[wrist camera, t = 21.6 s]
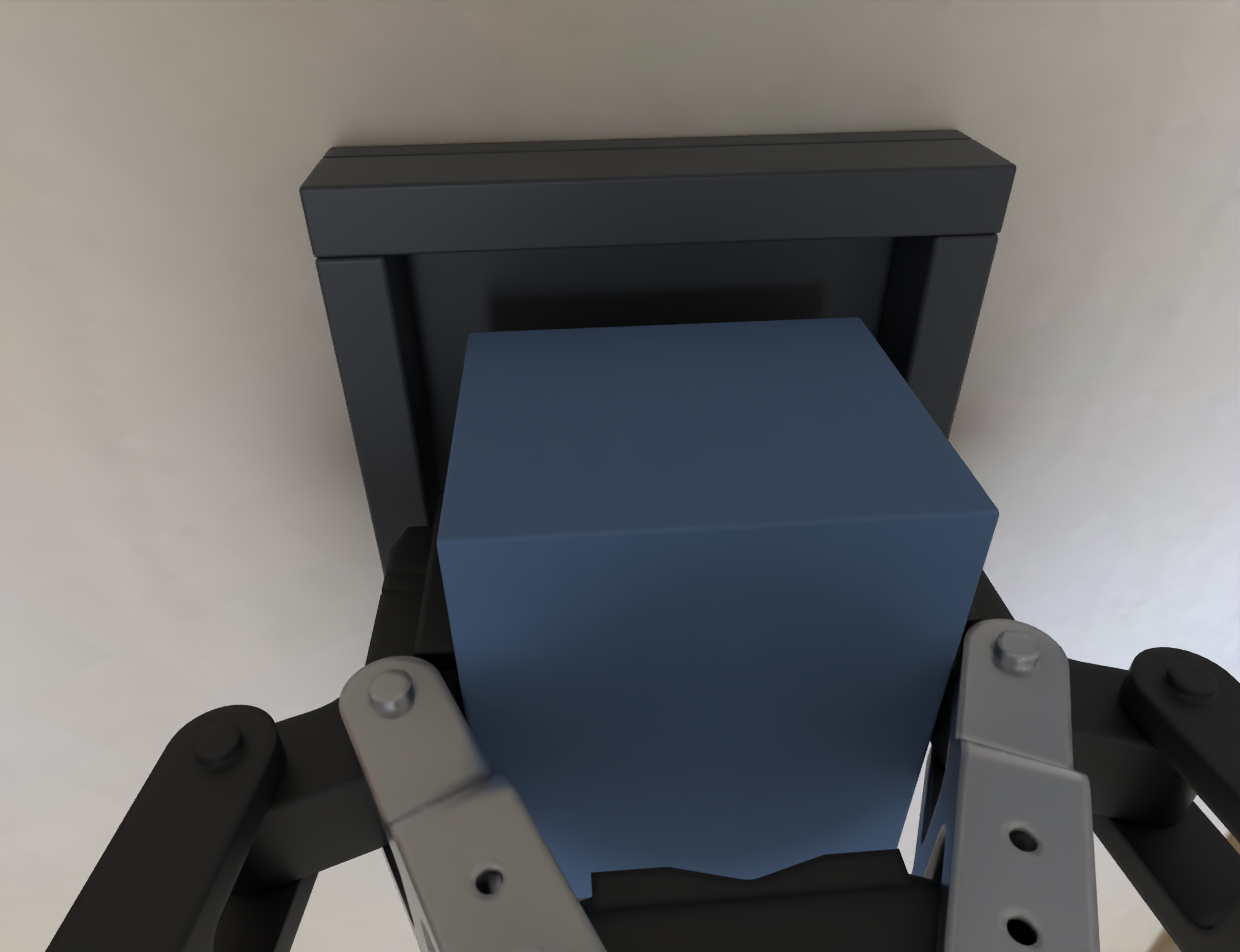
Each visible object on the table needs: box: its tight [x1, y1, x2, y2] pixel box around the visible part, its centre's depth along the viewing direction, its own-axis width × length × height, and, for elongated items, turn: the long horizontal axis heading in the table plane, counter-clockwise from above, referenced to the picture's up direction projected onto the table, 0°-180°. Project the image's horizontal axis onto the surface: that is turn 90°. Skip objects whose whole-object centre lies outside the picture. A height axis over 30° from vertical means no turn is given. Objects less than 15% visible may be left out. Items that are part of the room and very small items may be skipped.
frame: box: [299, 130, 1016, 901], centre depth 18 cm, size 19×10×2 cm, turn 0°
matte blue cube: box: [436, 317, 999, 898], centre depth 13 cm, size 7×6×5 cm
